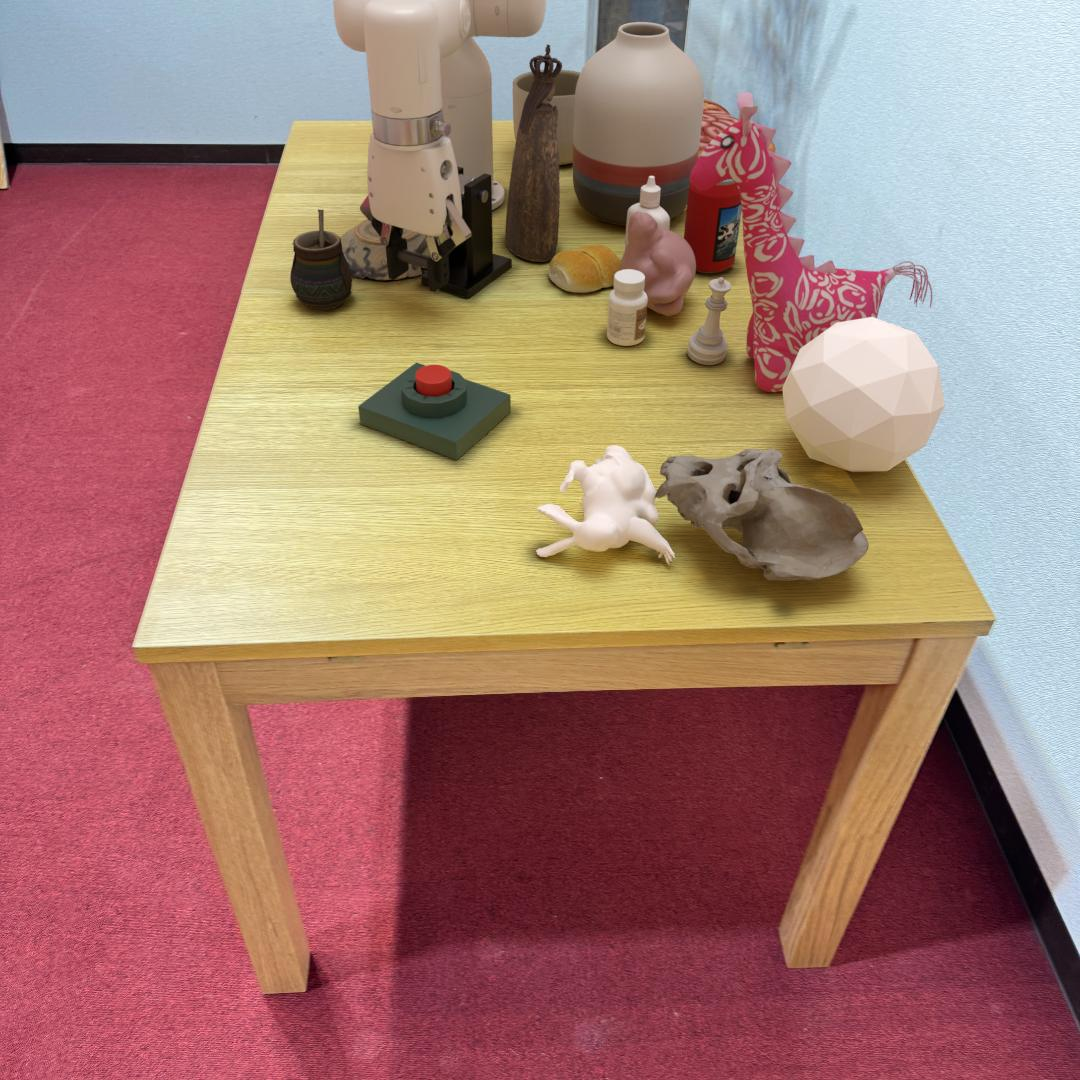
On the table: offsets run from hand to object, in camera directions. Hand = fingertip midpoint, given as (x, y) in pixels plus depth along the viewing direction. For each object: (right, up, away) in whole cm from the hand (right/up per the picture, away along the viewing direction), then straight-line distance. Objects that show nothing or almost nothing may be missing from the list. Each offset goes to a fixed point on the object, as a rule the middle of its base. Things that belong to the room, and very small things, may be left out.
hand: (418, 279), depth 127 cm
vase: (+27, +16, +24) cm, 40 cm away
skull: (+28, -31, -26) cm, 49 cm away
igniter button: (+4, -15, -17) cm, 23 cm away
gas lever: (+3, +6, +1) cm, 7 cm away
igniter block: (+4, -18, -15) cm, 24 cm away
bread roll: (+20, +2, +9) cm, 22 cm away
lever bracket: (+5, +3, +9) cm, 11 cm away
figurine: (+29, -2, +4) cm, 29 cm away
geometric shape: (+44, -14, -17) cm, 49 cm away
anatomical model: (+44, +21, +26) cm, 55 cm away
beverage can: (+36, +5, +12) cm, 38 cm away
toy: (+42, -13, -8) cm, 45 cm away
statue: (+13, +8, +15) cm, 22 cm away
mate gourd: (-12, -2, +4) cm, 13 cm away
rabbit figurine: (+23, -28, -29) cm, 46 cm away
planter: (+16, +28, +39) cm, 51 cm away
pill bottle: (+24, -7, -2) cm, 25 cm away
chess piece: (+33, -10, -5) cm, 35 cm away
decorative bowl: (-5, +6, +14) cm, 16 cm away
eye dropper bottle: (+28, +4, +11) cm, 30 cm away
